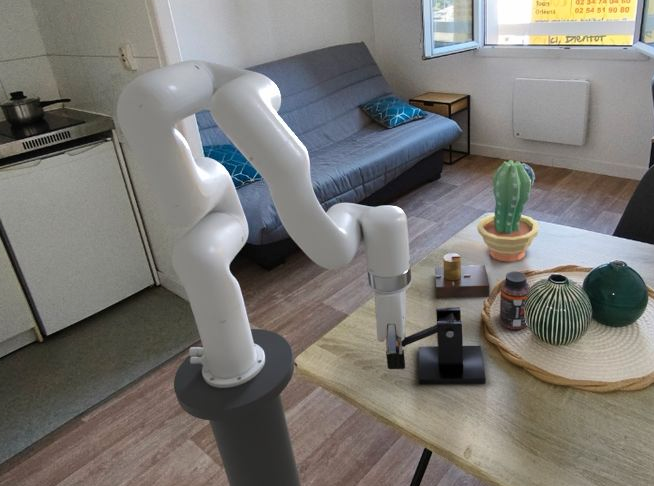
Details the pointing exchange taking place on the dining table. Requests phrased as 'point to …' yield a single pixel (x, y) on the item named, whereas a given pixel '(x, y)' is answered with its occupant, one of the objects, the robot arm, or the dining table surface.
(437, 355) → the bracket
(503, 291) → the supplement bottle
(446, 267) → the knob
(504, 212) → the potted cactus
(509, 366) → the dining table surface
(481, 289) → the dial panel
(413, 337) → the lever handle
